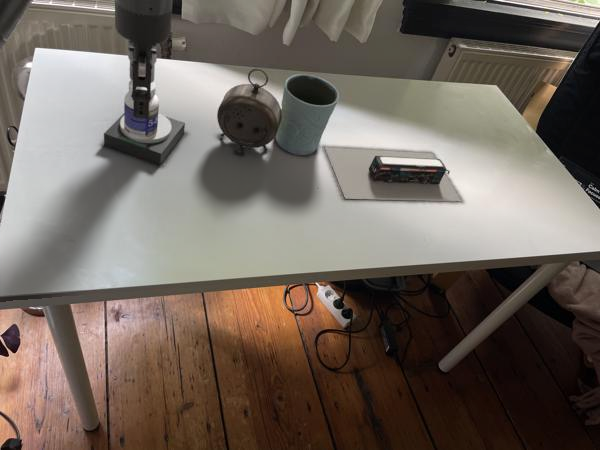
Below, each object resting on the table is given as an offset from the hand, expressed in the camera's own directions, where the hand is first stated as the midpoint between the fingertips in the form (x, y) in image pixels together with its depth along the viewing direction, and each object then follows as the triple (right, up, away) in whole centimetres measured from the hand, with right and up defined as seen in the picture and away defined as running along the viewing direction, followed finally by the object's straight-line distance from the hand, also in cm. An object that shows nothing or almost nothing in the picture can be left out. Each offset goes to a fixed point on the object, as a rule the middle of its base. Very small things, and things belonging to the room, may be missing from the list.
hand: (141, 100), depth 78 cm
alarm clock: (+15, -6, +13) cm, 20 cm away
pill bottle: (-1, -4, +4) cm, 6 cm away
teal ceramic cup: (+25, -4, +18) cm, 31 cm away
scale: (-2, -5, +8) cm, 9 cm away
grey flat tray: (+44, -10, +19) cm, 48 cm away
